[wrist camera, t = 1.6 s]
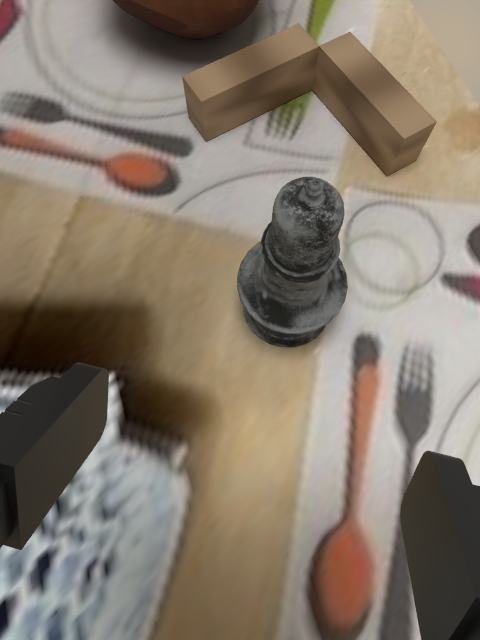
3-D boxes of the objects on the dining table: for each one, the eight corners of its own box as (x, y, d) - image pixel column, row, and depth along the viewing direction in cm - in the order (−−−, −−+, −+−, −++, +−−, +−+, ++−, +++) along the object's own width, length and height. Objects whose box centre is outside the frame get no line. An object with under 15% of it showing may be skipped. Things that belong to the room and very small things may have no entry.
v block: (413, 181, 30) (433, 144, 26) (181, 136, 31) (174, 96, 28) (425, 91, 32) (446, 47, 29) (211, 54, 34) (208, 8, 31)
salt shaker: (324, 256, 28) (377, 106, 17) (344, 344, 26) (419, 242, 15) (232, 268, 28) (222, 125, 16) (245, 358, 26) (244, 265, 14)
